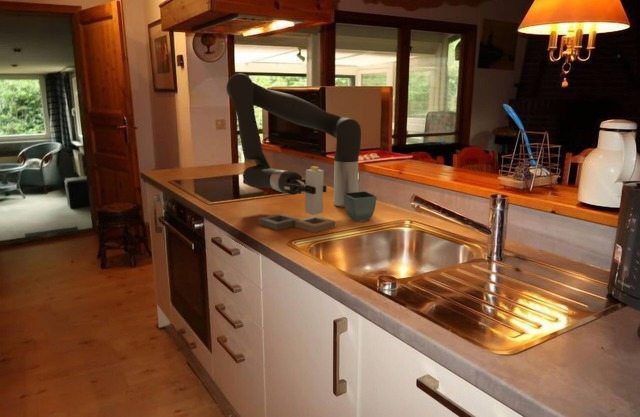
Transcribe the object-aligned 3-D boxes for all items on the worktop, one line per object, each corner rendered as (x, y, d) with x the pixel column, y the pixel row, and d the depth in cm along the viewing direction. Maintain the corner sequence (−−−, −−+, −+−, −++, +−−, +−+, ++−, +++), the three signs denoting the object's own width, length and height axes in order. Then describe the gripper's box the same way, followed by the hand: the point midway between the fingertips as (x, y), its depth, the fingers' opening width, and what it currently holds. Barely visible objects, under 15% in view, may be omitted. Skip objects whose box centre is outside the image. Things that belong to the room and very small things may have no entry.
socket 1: (281, 219, 167) (281, 213, 167) (299, 224, 161) (299, 218, 160) (258, 224, 161) (258, 218, 161) (276, 230, 154) (276, 224, 154)
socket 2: (315, 221, 165) (315, 215, 165) (335, 227, 158) (335, 221, 158) (294, 226, 159) (294, 220, 158) (314, 232, 152) (314, 226, 152)
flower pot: (353, 224, 162) (353, 198, 159) (342, 218, 169) (342, 193, 167) (376, 222, 165) (377, 196, 163) (364, 215, 173) (365, 191, 170)
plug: (314, 210, 160) (315, 165, 156) (322, 212, 157) (323, 167, 154) (305, 212, 157) (305, 166, 154) (313, 214, 155) (314, 168, 151)
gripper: (269, 173, 160) (303, 180, 148) (301, 168, 169) (336, 175, 157) (269, 195, 162) (303, 204, 150) (301, 189, 171) (336, 198, 159)
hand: (320, 189), depth 154 cm, fingers closed on plug, 4 cm apart
